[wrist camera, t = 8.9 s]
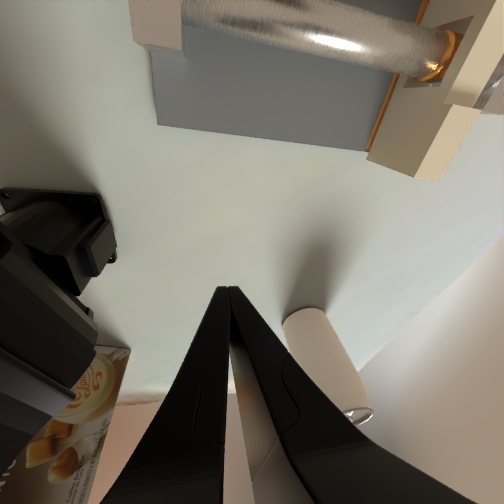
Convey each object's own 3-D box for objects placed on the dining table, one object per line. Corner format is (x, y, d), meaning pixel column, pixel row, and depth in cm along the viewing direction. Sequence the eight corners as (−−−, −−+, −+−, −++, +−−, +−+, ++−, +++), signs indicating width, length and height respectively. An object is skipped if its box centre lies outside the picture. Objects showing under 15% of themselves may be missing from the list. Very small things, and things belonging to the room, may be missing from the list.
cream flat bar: (366, 159, 18) (413, 177, 14) (467, -94, 11) (619, -207, 7) (387, 161, 18) (439, 180, 14) (496, -81, 11) (656, -179, 7)
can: (320, 299, 29) (377, 400, 19) (328, 325, 33) (378, 420, 23) (275, 316, 29) (308, 423, 20) (287, 340, 33) (320, 439, 24)
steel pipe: (150, 54, 12) (132, 39, 9) (139, -61, 10) (112, -127, 7) (454, 112, 17) (507, 115, 14) (492, 42, 15) (564, 28, 12)
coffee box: (45, 368, 28) (-97, 605, 15) (46, 338, 25) (-129, 600, 12) (125, 373, 31) (66, 568, 18) (134, 347, 28) (73, 558, 15)
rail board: (160, 123, 15) (157, 125, 14) (133, -183, 9) (125, -213, 8) (419, 157, 20) (429, 159, 19) (517, -30, 14) (537, -39, 13)
